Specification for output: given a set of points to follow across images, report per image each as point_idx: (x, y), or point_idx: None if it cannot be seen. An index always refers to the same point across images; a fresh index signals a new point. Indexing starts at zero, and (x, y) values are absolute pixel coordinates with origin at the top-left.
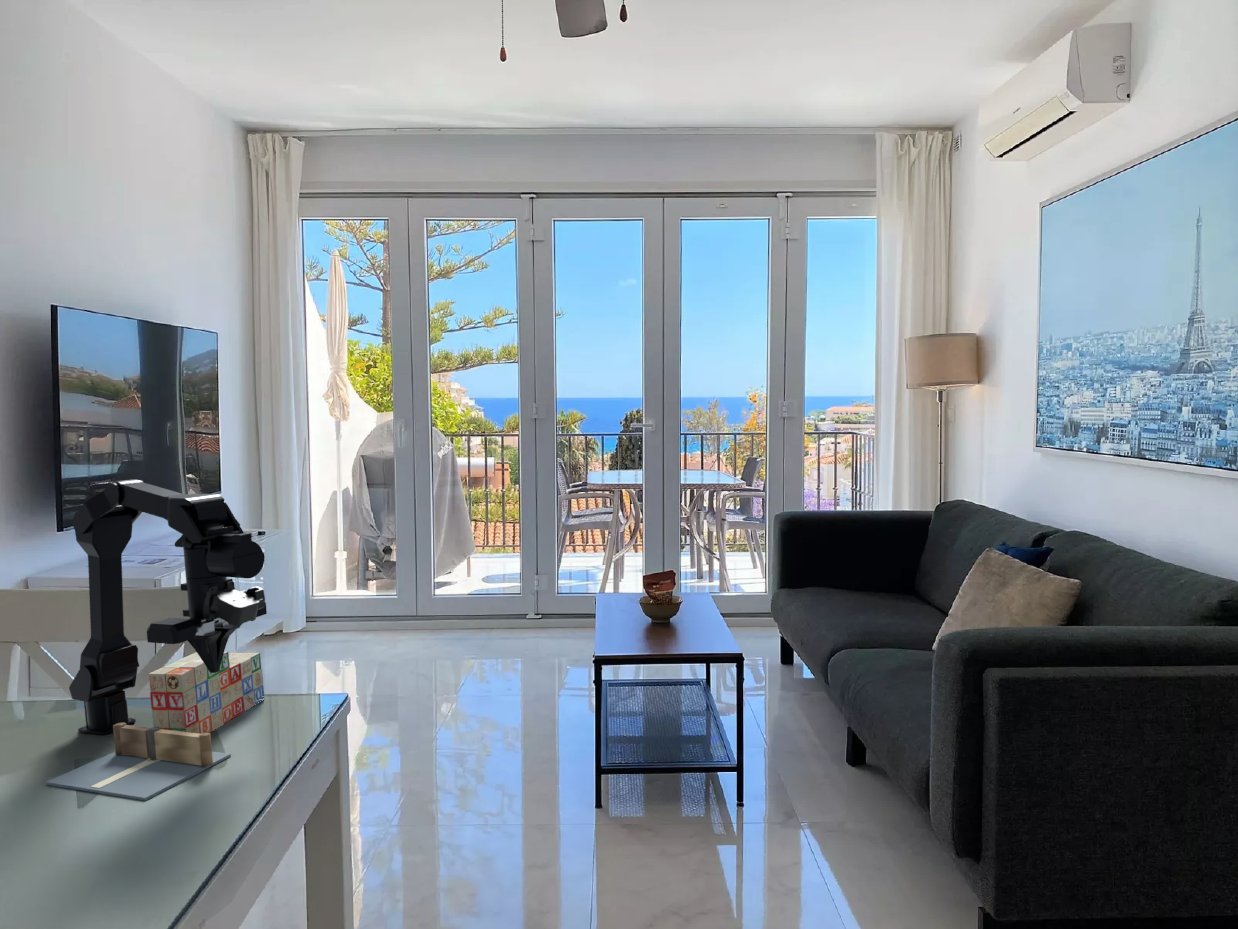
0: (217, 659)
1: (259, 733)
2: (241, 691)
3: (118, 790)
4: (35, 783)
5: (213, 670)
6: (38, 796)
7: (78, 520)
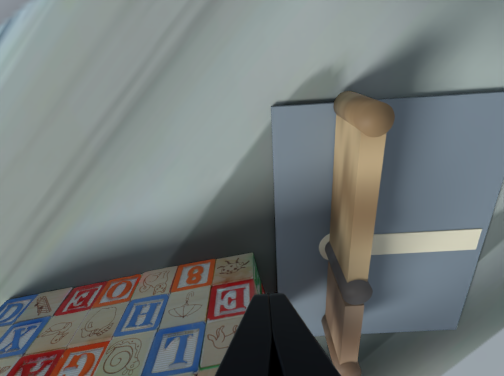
0: (268, 363)
1: (137, 157)
2: (47, 326)
3: (490, 185)
4: (448, 342)
5: (290, 308)
6: (497, 300)
7: None
